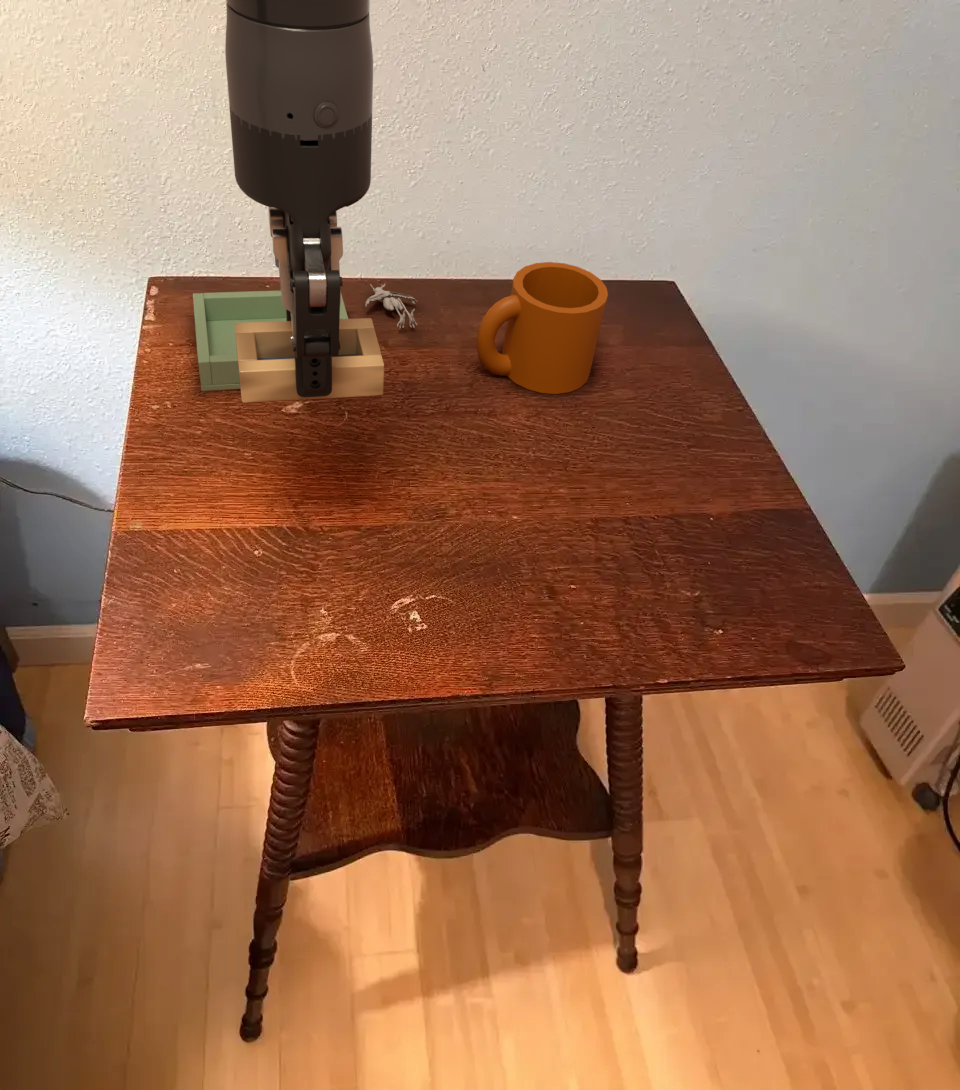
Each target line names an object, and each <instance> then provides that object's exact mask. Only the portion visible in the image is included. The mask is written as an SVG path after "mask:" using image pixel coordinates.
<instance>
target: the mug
mask: <svg viewBox="0 0 960 1090" xmlns="http://www.w3.org/2000/svg"><path fill="white" fill-rule="evenodd" d="M608 297H609V292H608V288H607V286H606V285H605V283H604V282H603V281H602V280H601V278H599V277H598V276H596V275H595V274H594V273H592V272H591V271H589V270H586V269H584V268H582V267H579V266H576V265H574V264H573V265H572V264H568V263H564V262H555V261H554V262H553V261H546V262H535V263H532V264H528V265H525V266H523V267H521V268H520V269H519V270H518V271H516V273H515V275H514V277H513V278H512V283H511V291H510V295H508V296H505V297H503V298H501V299H499V300H498V301H496V302H495V303H493V305H492V306H491V307H490V308H489V309H488V310H487V311H486V313H485V314H484V316H483V317H482V319H481V322H480V324H479V327H478V328H477V333H476V339H475V341H476V351H477V355H478V357H479V361H480V362H481V364H482V365H483V368H485V369H486V370H487V371H489V372H490V373H492V374H494V375H496V376H501V377H502V376H503V377H505V376H506V377H507V378H509V379H510V380H511V381H512V382H513V383H514V384H516V385H518V386H520V387H522V388H524V389H525V390H529V391H532V392H536V393H541V394H551V395H558V394H559V395H560V394H566V393H567V394H568V393H571V392H574V391H576V390H579V389H580V388H582V387H583V386H584V385H585V384H586V383H588V380H589V378H590V377H589V376H590V374H591V369H592V366H593V362H594V357H595V353H596V348H597V344H598V340H599V335H600V331H601V327H602V323H603V318H604V315H605V310H606V306H607V301H608ZM504 324H505V330H504V337H503V343H502V350H501V353H500V352H499V351H498V350H497V348H496V344H495V341H496V336H497V333H498V331H499V330H500V328H501V327H502V326H503V325H504Z"/></svg>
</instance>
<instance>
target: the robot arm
mask: <svg viewBox="0 0 960 1090" xmlns="http://www.w3.org/2000/svg"><path fill="white" fill-rule="evenodd" d="M225 1H226V2H225V3H226V5H225V6H226V7H225V8H226V24H225V25H226V26H225V28H226V29H225V41H224V42H225V46H224V48H225V49H224V53H225V54H224V55H225V70H226V71H225V72H226V82H227V93H228V94H227V95H228V107H229V119H230V129H231V130H230V133H231V143H232V156H233V168H234V178H235V181H236V184H237V186H238V187H239V189H240V190H241V191H242V192H243V193H244V194H245V196H247V197H248V198H250V199H251V200H252V201H254V202H256V203H258V204H260V205H262V206H265V207H268V208H267V209H268V211H267V212H268V225H269V234H270V237H271V240H272V241H271V242H272V251H273V255H274V264H275V267H276V268H278V274H279V287H280V288H279V289H280V290H279V291H281V301H282V304H283V306H284V308H285V309H286V321H291V324H292V335H290V341H291V343H293V352H294V355H295V377H296V390H297V394H298V395H299V396H301V397H321V396H328V395H329V394H330V393H331V392H332V356H338V354H339V350H340V341H339V321H340V305H341V295H342V289H341V288H342V287H343V277H342V276H341V271H340V270H341V269H340V261H341V259H342V257H343V255H344V239H343V230H342V227H341V226H338V214H337V213H338V212H337V211H340V210H341V209H343V208H347V207H351V206H352V205H354V204H356V203H358V202H359V201H360V200H361V199H363V198H364V197H365V195H366V194H368V191H369V189H370V187H371V182H372V143H373V142H372V140H373V139H372V137H373V100H374V99H373V98H374V97H373V96H374V95H373V93H374V53H373V42H372V35H371V21H370V20H371V19H370V5H371V0H225Z"/></svg>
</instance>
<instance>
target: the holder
mask: <svg viewBox="0 0 960 1090" xmlns="http://www.w3.org/2000/svg"><path fill="white" fill-rule="evenodd" d="M192 303H193V314H194V315H193V316H194V328H195V329H194V330H195V340H196V341H195V343H196V354H197V364H198V373H199V381H200V390H201V391H202V392H208V391H209V392H211V391H212V392H213V391H228V390H229V391H231V390H241V388H240V378H239V368H238V357H237V347H236V336H235V325H234V323H245V322H274V321H286V309H285V308H284V306H283V304H282V301H281V290H253V291H252V290H251V291H225V292H223V291H222V292H220V291H219V292H193V293H192ZM340 319H349V316H348V313H347V309H346V305H345V302H344V299H343V295H342V294H341V305H340Z"/></svg>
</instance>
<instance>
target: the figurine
mask: <svg viewBox="0 0 960 1090" xmlns="http://www.w3.org/2000/svg"><path fill="white" fill-rule="evenodd" d="M369 286H370V287H371V290H373V292H374V295H371V296H369V297H368V298H367V299H366V301H365V308H367V306H368V305H369V304H370V301H371V302H374V301H376V300H377V301H379V302H380V303H382V305H383V308H384V309H385V310H386V311H392V312H393V311H394V310H396V312H397V314H398V316H399V321H397V324H396V327H397V328H398V327H399V329H401V327H402V329H404V327H405V324H406V315H407V317H408V319H409V320H408V321H409V323H408V324H409V327H410V328H413V329H415V328H416V327H415V325H416V326H418V323H417V321H416V319H415V318H414V312H415V311H416V309H415V308H413V309H412V310H411V311H410V312H409V311H408V310H407V308H406V306H405V304H404V303H403V301H402V299H406V300H408V301H409V302H411V303H412V304H416V303H417V300H416V298H414V297H413V296H412V295H409V294H408V295H407V294H405V293H401V292H400V293H399V292H395V291H390V290H384V289H383V288H385V287H386V283H384V284H383V285H381V286H376V287H374V286H373V285H372V284H371V283H369ZM402 310H403V312H402V314H401V313H400V312H401V311H402Z"/></svg>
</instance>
